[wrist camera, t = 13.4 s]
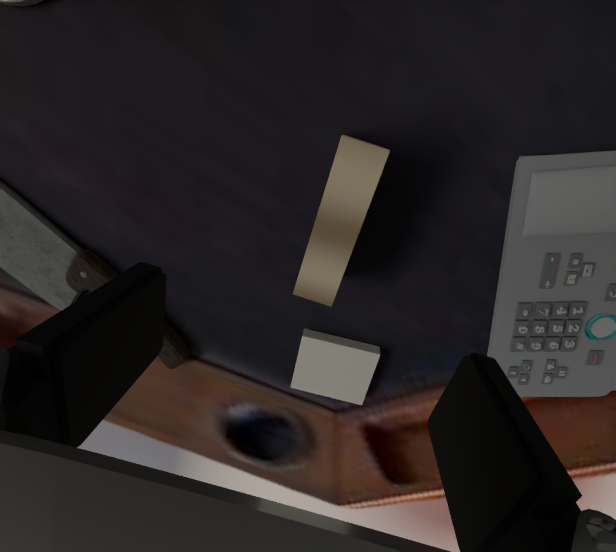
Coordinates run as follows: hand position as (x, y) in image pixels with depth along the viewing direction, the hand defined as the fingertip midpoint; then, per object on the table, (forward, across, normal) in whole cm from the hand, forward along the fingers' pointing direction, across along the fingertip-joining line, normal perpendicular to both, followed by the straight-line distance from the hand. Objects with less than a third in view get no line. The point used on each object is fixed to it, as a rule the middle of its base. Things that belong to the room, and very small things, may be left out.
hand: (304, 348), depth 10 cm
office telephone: (+20, -26, 0) cm, 33 cm away
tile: (+19, -4, +13) cm, 24 cm away
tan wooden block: (+20, 0, 0) cm, 20 cm away
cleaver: (+21, +25, +15) cm, 36 cm away
